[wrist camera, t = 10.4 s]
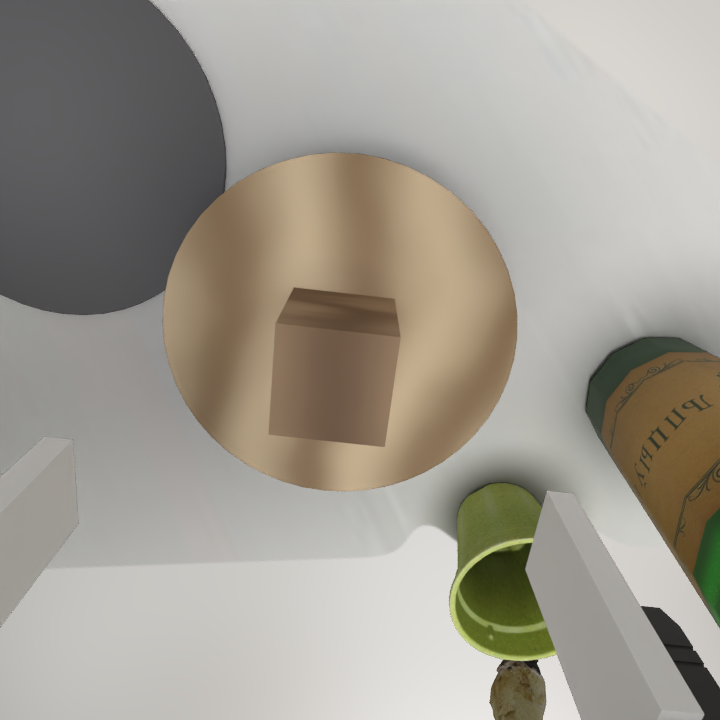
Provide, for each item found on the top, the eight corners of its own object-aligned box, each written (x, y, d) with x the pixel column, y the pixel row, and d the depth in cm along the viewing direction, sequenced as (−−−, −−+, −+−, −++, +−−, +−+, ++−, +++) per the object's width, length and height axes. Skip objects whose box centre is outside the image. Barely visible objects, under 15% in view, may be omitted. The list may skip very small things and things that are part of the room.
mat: (-88, 293, 37) (-94, 295, 37) (-148, -75, 30) (-156, -79, 30) (220, 329, 38) (218, 332, 37) (232, -25, 31) (230, -27, 30)
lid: (171, 462, 33) (120, 543, 27) (169, 131, 27) (102, 127, 20) (477, 494, 34) (503, 582, 27) (546, 176, 27) (604, 187, 21)
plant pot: (447, 452, 41) (466, 529, 33) (576, 469, 41) (627, 550, 33) (424, 558, 44) (436, 652, 36) (544, 573, 44) (583, 669, 36)
